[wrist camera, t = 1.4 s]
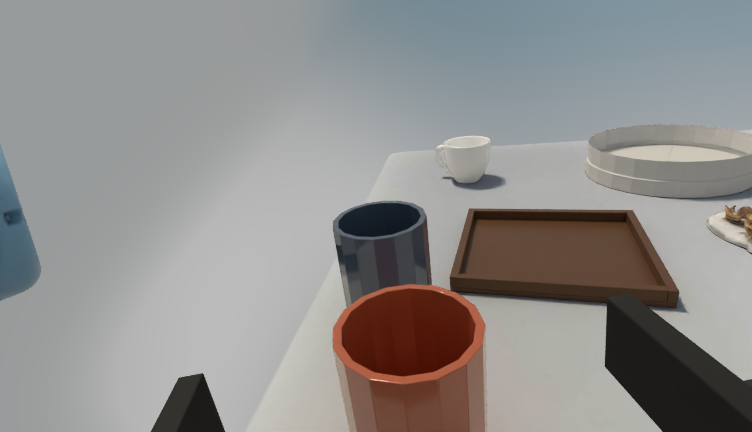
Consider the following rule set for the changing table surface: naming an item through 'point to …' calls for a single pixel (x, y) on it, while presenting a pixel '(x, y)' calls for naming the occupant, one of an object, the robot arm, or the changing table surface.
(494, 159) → the changing table surface
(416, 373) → the terracotta cup
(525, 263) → the tray
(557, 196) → the changing table surface
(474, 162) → the cup
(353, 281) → the slate cup
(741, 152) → the dish
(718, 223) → the frog figurine
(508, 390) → the changing table surface
